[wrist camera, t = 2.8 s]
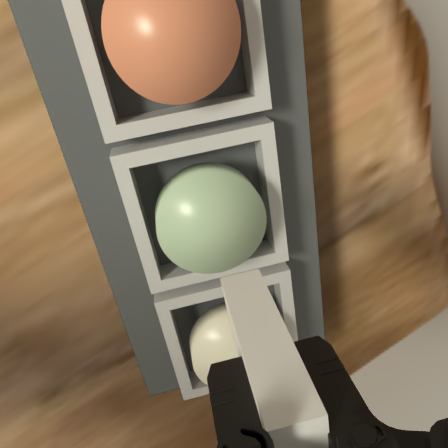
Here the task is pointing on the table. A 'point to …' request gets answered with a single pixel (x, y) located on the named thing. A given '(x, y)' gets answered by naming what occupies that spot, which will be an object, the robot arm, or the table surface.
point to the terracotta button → (172, 46)
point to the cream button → (211, 341)
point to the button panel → (177, 160)
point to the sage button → (209, 218)
